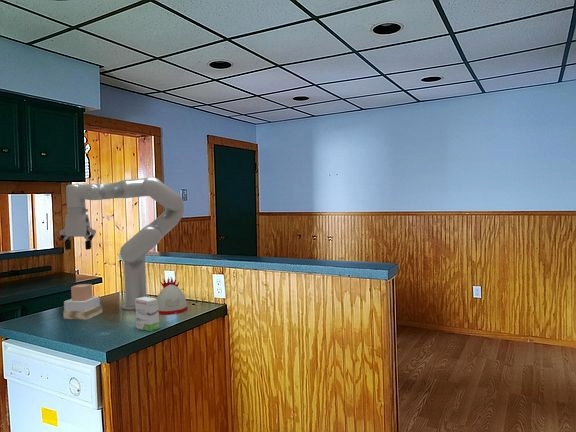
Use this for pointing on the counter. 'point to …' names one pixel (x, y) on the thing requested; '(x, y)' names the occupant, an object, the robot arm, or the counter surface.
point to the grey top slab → (81, 304)
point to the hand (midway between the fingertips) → (78, 249)
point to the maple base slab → (82, 313)
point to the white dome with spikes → (171, 299)
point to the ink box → (147, 313)
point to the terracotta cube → (81, 292)
